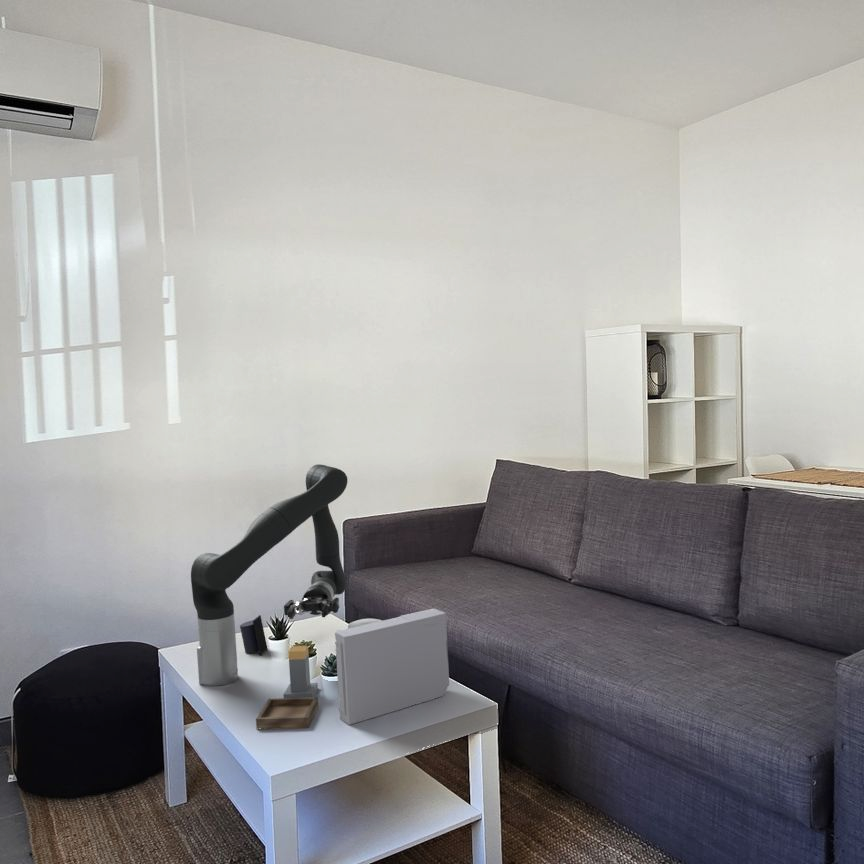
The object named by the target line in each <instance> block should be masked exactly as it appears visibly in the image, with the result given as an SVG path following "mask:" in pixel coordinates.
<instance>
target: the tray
mask: <svg viewBox="0 0 864 864" xmlns="http://www.w3.org/2000/svg"><path fill="white" fill-rule="evenodd" d="M318 708H319V700H318V696H314V697H308V698H284V697H283V698H268V700H267V701H266V703H265V704H264V705H263V707H262V709H261V710H260V712H259V714H258V715H257V716H256V718H255V725H256V726H255V727H256V730H263V729H262V728H284V729H308V728H309V727H310V725H311V723H312V720H313V719H314V716H315V715H316V712H317V711H318ZM257 728H258V729H257ZM259 728H261V729H259Z"/></svg>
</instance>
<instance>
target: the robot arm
mask: <svg viewBox="0 0 864 864" xmlns="http://www.w3.org/2000/svg"><path fill="white" fill-rule="evenodd" d="M305 475H306V476H305V487H306V488H305V489H306V491H304V492H302V493H300V494H297V495H295V496H292V497H289V498H286V499H284V500H280V501H278V502H276V503H275V504H273V505H271V506H270V507H268V508H267V509H265V511H263V512H262V513H261V514H260V515H258V516H257V517H256V518H255V519H254V520H253V521H252V522H251V524H250V525H249V527H248V529H247V531H246V533H244V536H243V537H242V538H241V539H240V541H239V542H237V543H236V544H235V545H234V546H232V547H230V549H227V551H225V552H223V553H221V554H217V553H212V552H205V553H201V554H200V555H198V557H196V558H195V560H193V563H192V566H191V568H190V570H191V571H190V582H191V592H192V594H191V595H192V601H193V606H194V608H195V610H196V614H197V628H198V641H199V642H198V645H199V646H197V647H196V655H197V656H196V658H197V668H198V669H197V670H198V673H197V674H198V685H205V686H222V685H227V684H230V683H233V682H235V681H237V679H238V678H239V669H238V656H237V653H238V651H237V639H236V638H237V637H236V624H235V623H236V622H235V609H234V603H233V601H232V600H231V599H230V598H229V596H228V594H227V591H226V590H227V589H229V588H230V587H231V586H233V585H234V584H235V583H237V581H239V579H240V578H241V577H242V576H243V574H245V573H246V572H247V571H248V570H249V568H251V566H253V564H255V563H256V562H257V561H258V560H259V559H261V558H262V557H263V556H264V555H266V554H267V553H268V552H270V551H271V550H272V549H273V548H274V547H275V546H277V545H278V544H280V543H281V542H282V541H283V540H284V539H285V538H287V537H288V536H290V534H291V533H292V532H294V531H295V530H296V529H297V528H298V527H300V526H301V525H302V524H303V523H305V522H306V521H307V520H308V519H309V518H311V517H312V518H311V519H312V523H313V529H314V539H315V543H314V544H315V560H316V563H317V564H318V565H320V566H321V567H326V568H329V569H330V570H317V571H316V572H314V573H313V574H312V575H311V579H310V580H311V581H310V583H311V585H310V586H308V589H307V590H306V591H305V592H304V594H303V596H302V598H301V600H298V601H296V602H295V601H294V599H289V600H288V601H287V602H286V603H285V604H284V605H283V613H284V616H287V618H289V620H293V619H294V618H295V616H296V615H300V616H302V615H305V614H309V615H313V616H319V615H321V617H322V618H326V616H328V615H330V614H331V612H332V613H334V614H337V613H338V612H339V610H340V598H339V597H335V595H341V594H343V593H344V592H345V590H346V589H347V585H348V583H347V577H346V574H345V571H344V569H343V566H342V563H341V556H340V555H341V554H340V538H339V534H338V533H339V532H338V530H337V527H336V524H335V522H334V520H333V517H332V514H331V512H330V509H329V505H330V504H332V502H334V501H335V500H337V499H338V498H340V497H341V495H343V494H344V492H345V490H346V488H347V485H348V476H347V474H346V472H345V471H343V470H341V469H340V468H338V467H333V466H329V465H325V464H314V465H313V466H311V467H310V468H309V469H308V471H307V473H306V474H305ZM295 608H296V609H295Z"/></svg>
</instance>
